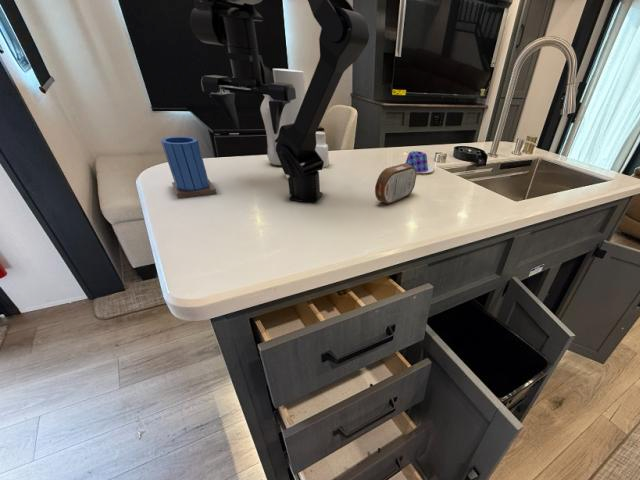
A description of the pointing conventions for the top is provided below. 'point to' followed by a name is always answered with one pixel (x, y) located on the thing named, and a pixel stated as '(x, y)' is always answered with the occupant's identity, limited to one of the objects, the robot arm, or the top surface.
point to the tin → (395, 183)
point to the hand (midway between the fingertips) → (256, 131)
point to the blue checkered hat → (418, 162)
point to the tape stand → (201, 192)
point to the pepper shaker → (322, 147)
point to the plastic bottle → (269, 131)
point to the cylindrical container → (299, 84)
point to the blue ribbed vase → (185, 163)
